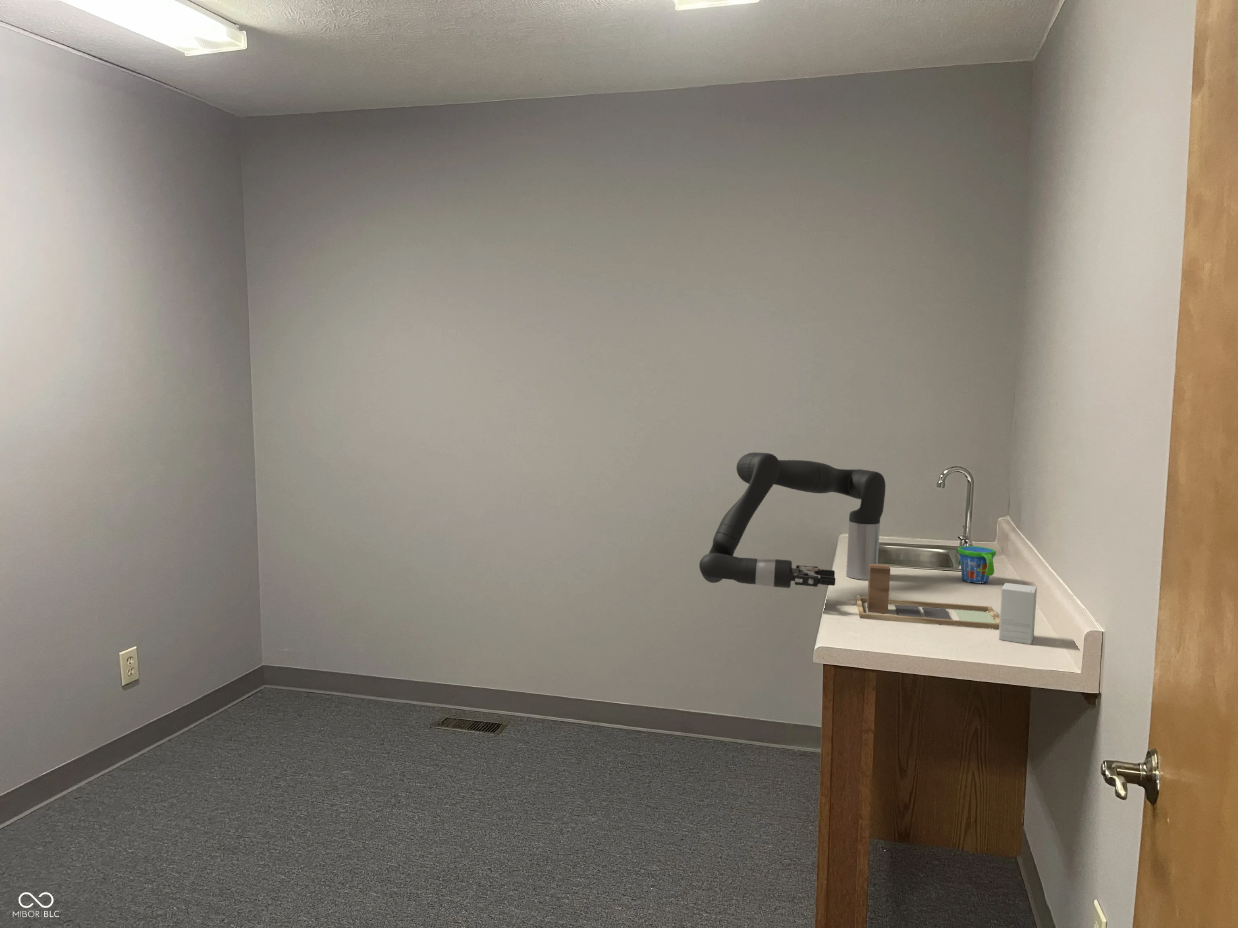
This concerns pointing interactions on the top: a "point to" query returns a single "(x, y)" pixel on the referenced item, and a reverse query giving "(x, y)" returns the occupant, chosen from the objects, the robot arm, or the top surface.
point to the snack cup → (976, 563)
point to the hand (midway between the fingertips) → (834, 577)
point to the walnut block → (878, 588)
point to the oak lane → (931, 620)
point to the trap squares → (928, 612)
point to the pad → (974, 616)
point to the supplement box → (1017, 613)
